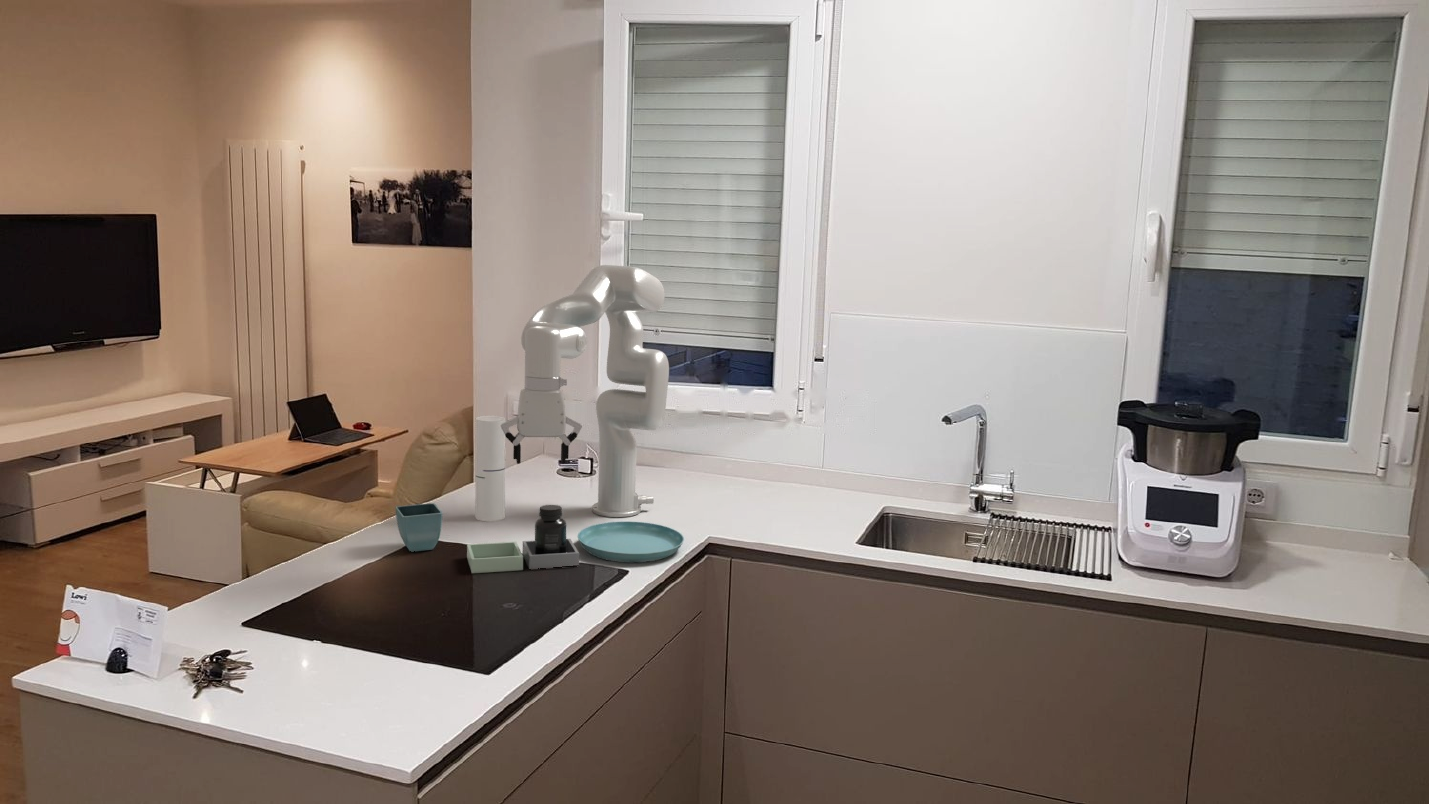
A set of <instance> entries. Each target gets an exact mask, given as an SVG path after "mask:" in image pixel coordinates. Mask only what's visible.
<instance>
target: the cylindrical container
mask: <svg viewBox="0 0 1429 804" xmlns="http://www.w3.org/2000/svg"><path fill="white" fill-rule="evenodd" d="M504 422H506V417H505V416H500V415H481V416H477V417H476V416H475V459H474V460H475V465H474V466H475V469H474V470H475V471H474V472H475V474H474V475H475V478H474V479H475V480H474V481H475V489H474V490H475V492H474V493H475V500H474V501H475V502H474V503H475V505H474V506H475V513H474V514H475V515H474V516H475V517H474V518H475V519H476V520H478V521H482V522H497V521H502V520H504V519H505V516H506V510H505V509H506V436H505V434H504V432H503V430H502V429H501V424H502V423H504Z"/></svg>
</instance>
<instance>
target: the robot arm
mask: <svg viewBox="0 0 1429 804" xmlns="http://www.w3.org/2000/svg"><path fill="white" fill-rule="evenodd" d="M665 297H666V294H665V288H664V286H663V283H662V282H661V280H660V279H659V278H657V277H656V276H654V275H652V274H651V273H649V272H648V271H646V270H644V269H642V268H640V267H636V266H630V265H612V264H603V265H597V266H595V267H594V268H593V269H591V270H590V271H589V273H588V274H587V275H586V276H585V277H584V279H583V280H582V281H581V283H580V284H579V285H578V286H577V287H576V288H575V290H574V291H573V292H572V294H568V295H566V296H562V297H561V298H559V299H557V300H555V301H554V300H553V301H552V302H549V303H547V304H546V305H544V306H542V307H539V309H538V310H536V311H535V312H534V313H533V315H532V316H531V317H530V318H529V320H528V321H527V322H526V323H525V325H524V327H523V329H522V333H521V337H520V339H521V343H520V344H521V345H522V349H523V350H524V353H525V354H524V388H523V389H521V390H520V392H519V393H520V394H519V397H518V407H517V416H514V417H513V418H511V419H509V420H505V422H504V423H502V424H501V429H502V430H503V432H504V434H505V439H507V440H508V441H509V442H510V443H512V445H513V452H512V453H513V454H512V455H513V460H516V464H517V465H520V464H521V458H522V456H521V455H522V454H521V452H522V451H521V450H522V449H521V448H522V447H521V442H522V440H523V439H524V438H560V441H562V442H561V444H560V462H561V463H562V464H563V465H564V464H566V460H569V455H570V454H569V451H570V450H569V447H570V445H571V443H572V442H573V441H574V440H575V439H576V438H578V435H579V433H580V431H581V430H582V427H583V426H582V424H581V423H579V422H578V421H576V420H574V419H572V418H570V417H569V416H566V406H565V397H564V395H565V394H564V391H563V390H562V389H561V388H562V387H564V386H567V385H568V381H567V380H568V379H566V378H565V379H564V378H562V377H561V359H566V360H567V359H569V360H570V359H571V360H572V359H577V358H579V357H580V356H581V355H582V354H583V353H584V352H585V351H586V348H587V343H588V340H587V339H588V337H587V335H586V332H585V331H584V330H583V328H581V327H584V326H589V325H592V324H595V323H597V322H598V321H599V320H600V319H602V317H603V315H604V314H605V316H606V318H607V321H608V325H609V338H608V339H609V340H608V346H607V348H608V350H607V358H606V377H607V378H608V380H609V381H610V382H612V383H614V384H619V385H625V386H626V385H627V386H635V387H636V386H637V387H644V388H645V391H638V390H637V391H636V390H629V389H621V388H619V389H618V388H617V389H616V388H615V389H614V388H612V389H607V390H605V391H602V392H601V393H600V394H599V396H598V397H597V400H596V404H595V405H596V406H595V408H596V409H595V410H596V418H597V424H598V437H599V440H598V443H599V445H598V450H599V451H598V488H597V489H598V492H597V493H598V494H597V497H598V498H597V502H595V503H593V504H592V505H591V511H592V513H594V514H595V515H598V516H603V517H609V518H627V517H633V516H636V515H638V514H640V513H641V511H642V505H644V504H646V505H651V504H652V505H653V504H654V496H652V495H651V496H650V495H648V496H647V495H646V494H644V495H643V494H641V495H638V493H636V485H637V484H636V481H637V454H638V453H637V449H638V448H637V447H638V446H637V441H636V438H635V436H634V434H633V432H632V431H631V430H630V429H632V430H642V431H657V430H659V429H660V427H662V425H663V423H664V419H665V414H666V407H667V397H668V387H669V377H670V363H669V360H668V357H667V355H666V353H664V351H662V350H659V349H652V348H645V347H644V346H643V345H644V344H643V341H644V326H643V323H642V321H641V319H640V318H639V315H638V314H637V313H650V314H651V313H656V312H658V311H659V310H660V309H662V307H663V305H664V303H665ZM643 347H644V348H643ZM515 425H516V426H517V427H516V428H517V434H516V435H514V434H513V433H511V431H510V429H509V428H511V427H513V426H515ZM566 425H569V426H571V427H572V429H573V430H572V431H571V432H570V434H568V435H566Z"/></svg>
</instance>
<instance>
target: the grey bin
mask: <svg viewBox="0 0 1429 804" xmlns="http://www.w3.org/2000/svg"><path fill="white" fill-rule="evenodd" d="M566 552H567V553H557V554H540V555H535V540H523V541H522V555H523V560H525V563H526V565H527V567H528V569H531V570H541V569H540V568H546V569H554V568H553V567H562V566H573V565H579V566H580V552H579V550H578V549H577V548H576V546H575V544H574V543H573V541H572V539H571V538H566ZM538 568H539V569H538ZM562 568H563V567H562Z"/></svg>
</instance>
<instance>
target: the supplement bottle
mask: <svg viewBox="0 0 1429 804" xmlns="http://www.w3.org/2000/svg"><path fill="white" fill-rule="evenodd" d="M562 509H563V507H562V506H560V505H558V504H545V505H544V504H543V505H541V506H539V514H538V516H539V518H537V519H536V521H535V523H534V541H535V554H534V555H540V554H557V553H566V539H567V522H566V520H565V519H564V518H563V517H562V516H563V513H562V512H563V510H562Z"/></svg>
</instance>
